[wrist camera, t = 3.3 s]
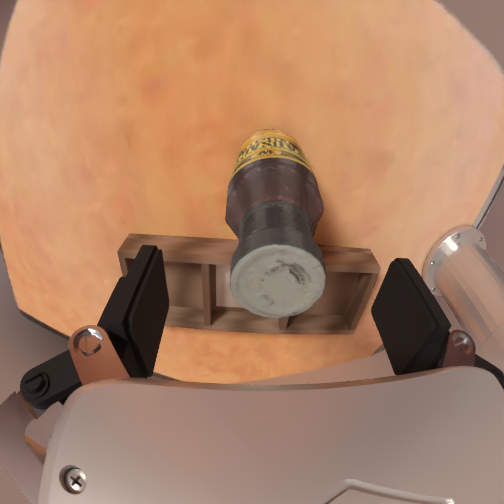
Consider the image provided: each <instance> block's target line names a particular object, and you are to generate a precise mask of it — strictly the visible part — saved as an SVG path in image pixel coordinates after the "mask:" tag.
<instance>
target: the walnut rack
mask: <svg viewBox="0 0 504 504" xmlns="http://www.w3.org/2000/svg"><path fill="white" fill-rule="evenodd" d="M238 243H239V240H230V239H214V238H197V237H180V236H162V235H144V234H129V235H128V237H127V238H126V240H125V241H124V242H123V244H122V245H121V247H120V248H119V250H118V251H117V252H118V257H119V261H120V266H121V270H122V274H123V277H126V275H127V273H128V271H129V269H130V267H131V265H132V263H133V261H134V259H135V257H136V255H137V253H138V251H139V250H140V248H141V246H142V245H156V246H157V247H158V249H161V250H162V253H163V260H164V268H165V275H166V282H167V289H168V295H169V310H168V314H167V318H166V321H165V326H174V327H184V328H194V329H205V330H218V331H232V332H250V333H273V334H353V332H354V330H355V328H356V325H357V323H358V321H359V319H360V317H361V315H362V312H363V310H364V308H365V306H366V303H367V301H368V299H369V296H370V294H371V291H372V289H373V287H374V284H375V282H376V279H377V277H378V274H379V272H380V269H381V267H380V266H379V264H378V262H377V260H376V259H375V257H374V255H373V253H372V252H371V250H370V249H361V248H347V247H334V246H320V245H318V246H319V248H320V250H321V252H322V255H323V260H324V264H325V271H326V274H327V277H326V286H325V289H324V292H323V294H322V296H321V297H320V298H319V300H318V301H316V302H315V303H314V304H313V306H312V307H311V308H309V309H308V310H306V311H304V312H302V313H300V314H298V315H295V316H288V317H282V318H270V317H262V316H260V315H257V314H253V313H252V312H250V311H249V310H247V309H245V308H243V307H242V306H241V305H240V304H239V303H238V302H237V301H236V299H235V298H234V296H233V294H232V291H231V289H230V269H231V261H232V256H233V254H234V252H235V250H236V248H237V246H238Z"/></svg>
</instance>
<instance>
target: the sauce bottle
mask: <svg viewBox="0 0 504 504" xmlns="http://www.w3.org/2000/svg"><path fill="white" fill-rule="evenodd" d="M323 210H324V207H323V202H322V199H321V196H320V193H319V190H318V185H317V181H316V178H315V176H314V174H313V172H312V170H311V168H310V165H309V163H308V161H307V159H306V157H305V155H304V153H303V151H302V149H301V148H300V146H299V144H298V143H297V141H296V140H295V139H294V138H293V137H292V136H290V135H289V134H287V133H285V132H282V131H279V130H275V129H265V130H261V131H259V132H257V133H255V134H253V135H251V136H250V137H249V138H248V139H247V140H246V141H245V142H244V143H243V145H242V147H241V149H240V152H239V155H238V158H237V161H236V164H235V167H234V170H233V173H232V176H231V179H230V182H229V185H228V194H227V206H226V218H225V220H226V223H227V224H228V225H229V227H230V228H231V229H232V231H233V232H234V233H235V235H236V236H237V238H238V239H239V243H238V246H237V248H236V250H235V252H234V254H233V256H232V261H231V269H230V289H231V291H232V294H233V296H234V298H235V299H236V301H237V302H238V303H239V304H240V305H241V306H242V307H243V308H245V309H247V310H249V311H250V312H252V313H253V314H257V315H260V316H262V317H270V318H282V317H288V316H295V315H298V314H300V313H302V312H304V311H306V310H308V309H309V308H311V307H312V306H313V304H314V303H315V302H316V301H318V300H319V298H320V297H321V296H322V294H323V292H324V289H325V286H326V277H327V274H326V271H325V264H324V260H323V255H322V252H321V250H320V248H319V246H318V245H317V244H316V243H315V242H314V240H313V236H314V234H315V230H316V226H317V222H318V221H319V219H320V217H321V215H322V214H323Z"/></svg>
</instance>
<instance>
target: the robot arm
mask: <svg viewBox="0 0 504 504" xmlns="http://www.w3.org/2000/svg"><path fill="white" fill-rule="evenodd" d="M422 278H423V279H422ZM433 295H434V296H439V297H441V296H443V297H444V298H445V300H446V302H447V303H448V305H449V307H450V308H451V310H452V312H453V313H454V315H455V317H456V318H457V320H458V322H459V323H460V325H461V327H462V329H463V330H464V331H461V330H454V331H452V332H451V333H450V332H449V331H448V330H449V329H450V327H451V324H450V322H449V320H448V319H447V317H446V315H445V314H444V312H443V311H442V309H441V307H440V305H439V304H438V302H437V301H436V299H435V297H434V296H433ZM168 310H169V295H168V289H167V282H166V275H165V268H164V260H163V253H162V250H161V249H158V247H157V246H156V245H142V246H141V248H140V250H139V251H138V253H137V255H136V257H135V259H134V261H133V263H132V265H131V267H130V269H129V271H128V273H127V275H126V277H123V276H122V277H121V278H120V279H119V280H118V282H117V284H116V286H115V288H114V290H113V292H112V294H111V297H110V299H109V301H108V303H107V305H106V307H105V309H104V311H103V313H102V316H101V318H100V320H99V322H98V324H97V326H95V325H88V326H84V327H81V328H80V329H78V330H76V331H75V332H74V333H73V334H72V336H71V338H70V340H69V350H67V351H65V352H63V353H61V354H59V355H57V356H56V357H54V358H52V359H50V360H48V361H46V362H44V363H42V364H40V365H38V366H36V367H35V368H32V369H31V370H29V371H28V372H27V373H26V374H25V375H24V376H23V378H22V380H21V384H20V391H19V392H18V393H16V392H15V391H14V392H13V393H12V394H11V395H10V396H9V397H8V398H7V399H6V400H5V401H4V402H3V403H2V404H1V405H0V463H1V464H2V466H3V467H4V469H5V470H6V472H7V473H8V474H9V476H10V477H11V479H12V480H13V481H14V483H15V484H16V485H17V487H18V488H19V489H20V491H21V492H22V493H23V495H24V496H25V497H26V498H27V500H28V501H29V502H30V503H31V504H504V272H503V270H502V269H501V268H500V267H499V266H498V264H497V263H496V262H495V261H494V260H493V259H492V258H491V257H490V255H489V254H488V253H487V252H486V241H485V238H484V236H483V234H482V233H481V232H480V231H479V230H478V229H477V228H475V227H473V226H461V227H457V228H455V229H453V230H451V231H450V232H448V233H447V234H445V235H444V236H443V237H442V238H441V239H440V240H439V241H438V242H437V243H436V244H435V246H434V247H433V248H432V250H431V251H430V253H429V255H428V257H427V259H426V261H425V264H424V267H423V273H422V277H421V276H420V274H419V273H418V271H417V270H416V268H415V267H414V266H413V264H412V263H411V261H410V260H409V259H407V258H396V259H395V260H394V261H392V262H391V264H390V266H389V268H388V271H387V273H386V276H385V278H384V280H383V283H382V285H381V288H380V290H379V292H378V294H377V297H376V299H375V301H374V303H373V305H372V309H371V313H372V316H373V319H374V321H375V324H376V326H377V329H378V331H379V334H380V336H381V339H382V341H383V344H384V347H385V349H386V352H387V354H388V357H389V360H390V363H391V365H392V368H393V371H394V373H395V375H396V376H390V377H382V378H374V379H366V380H357V381H346V382H336V383H320V384H298V385H236V384H215V383H198V382H185V381H173V380H163V379H148V378H147V377H151V376H152V374H153V370H154V366H155V361H156V357H157V353H158V349H159V345H160V341H161V337H162V333H163V329H164V325H165V321H166V318H167V314H168ZM475 352H476V354H475ZM49 439H50V442H49V446H48V450H47V453H46V445H47V442H48V441H49Z"/></svg>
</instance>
